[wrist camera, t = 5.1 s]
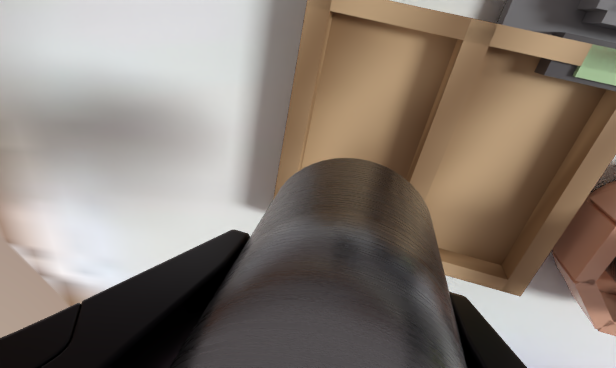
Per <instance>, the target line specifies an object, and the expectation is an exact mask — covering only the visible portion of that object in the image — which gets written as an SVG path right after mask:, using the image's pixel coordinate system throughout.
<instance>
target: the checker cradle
mask: <svg viewBox="0 0 616 368" xmlns="http://www.w3.org/2000/svg"><path fill="white" fill-rule="evenodd" d="M497 24H501V25H505V26H510V27H515V28H519V29H524V30H529V31H533V32H538V33H543V34H547V35H552V36H557V37H561V38H566V39H571V40H575V41H580V42H585V43H589V44H593V45H594V46H595V48H596V47H597V45H599V47H600V48H601V50H602V51H603V47H607V48H605V49H604V50H605V52H603V54H601V56H603V55H604V54H605V55H607V54H606V53H607V52H608V51H609V50H610V48H611V50H610V51H609V53H610V52H612V50H615V51H613V52H612V55H613V56H612V55H610V54H611V53H610V54H609V55H607V57H608V56H609V57H610V56H612V57H614V54H613V53H614V52H615V57H614V58H612V57H610V58H612V60H611V59H610V58H609V57H608V58H607V57H606V58H607V59H606V60H605V58H602V59H601V61H602V60H603V59H604V60H603V61H602V63H601V61H600V59H599V56H600V54H599V55H598V53H597V55H598V57H597V56H596V53H595V54H593V52H596V51H595V48H594V46H593V45H592V46H593V48H594V49H593V50H592V47H591V49H590V50H589V52H588V55H587V56H588V57H587V56H586V59H587V60H586V59H584V61H583V63H584V62H585V63H584V64H583V63H582V64H583V65H581V66H578V65H573V64H569V63H564V62H560V61H555V60H550V59H546V58H541V59H540V61H539V63H538V65H537V67H536V69H535V71H534V72H536V73H539V74H542V75H545V76H549V77H554V78H558V79H563V80H567V81H572V82H576V83H580V84H585V85H589V86H594V87H598V88H603V89H607V90H612V91H616V70H615V69H616V67H615V66H616V63H615V62H616V59H615V58H616V0H507V1H506V3H505V6H504V8H503V10H502V13H501V15H500V18H499V20H498V22H497ZM601 46H603V47H601ZM597 48H598V47H597ZM597 48H596V49H597ZM612 48H613V49H612ZM608 49H609V50H608ZM598 50H599V48H598ZM598 50H597V51H598ZM601 50H600V52H601ZM606 50H607V51H606ZM505 51H506V50H505ZM590 51H591V52H592V51H593V52H592V54H591V53H590ZM601 53H602V52H601ZM590 54H591V55H593V56H591V55H590ZM594 56H595V57H594ZM601 56H600V58H601ZM589 57H591V58H590V60H589ZM592 57H593V58H594V59H595V61H596V62H595V61H594V59H592ZM596 57H597V58H598V59H596ZM603 57H605V56H603ZM497 58H498V57H497ZM528 58H529V57H528ZM497 60H498V59H497ZM534 60H535V59H534ZM597 60H598V61H600V63H598V62H597ZM608 60H609V61H608ZM490 61H491V60H490ZM589 61H590V62H589ZM592 61H593V62H592ZM612 61H614V62H612ZM588 62H589V64H590V63H591V62H592V63H591V64H592V65H593V64H594V65H593V67H592V65H591V64H590V65H591V66H587V67H586V65H589V64H588ZM604 62H605V63H604ZM610 62H611V63H610ZM596 63H598V66H597V64H596ZM607 63H608V64H607ZM611 64H612V66H611ZM513 65H514V64H513ZM609 65H610V66H609ZM584 66H585V67H584ZM594 66H597V68H595V67H594ZM588 67H589V68H588ZM591 67H592V68H591ZM601 67H602V68H601ZM599 68H600V69H599ZM607 68H608V69H607ZM610 68H611V69H610ZM596 69H597V70H596ZM601 70H602V71H601ZM608 70H609V71H608ZM611 70H612V71H613V72H612V71H611ZM610 72H611V73H610ZM489 75H490V74H489ZM505 80H506V79H505ZM564 84H565V83H564Z"/></svg>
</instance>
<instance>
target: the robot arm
mask: <svg viewBox="0 0 616 368" xmlns="http://www.w3.org/2000/svg"><path fill="white" fill-rule="evenodd" d="M249 238H250V236H249V234H248V233H245V232H241V231H238V230H230V231H228V232H226V233H224V234H222V235H220V236H218V237H216V238H213V239H211V240H209V241H207V242H205V243H203V244H201V245H199V246H197V247H195V248H193V249H190V250H188V251H186V252H184V253H182V254H180V255H178V256H176V257H174V258H172V259H169V260H167V261H165V262H163V263H161V264H159V265H157V266H155V267H153V268H151V269H148V270H146V271H144V272H142V273H140V274H138V275H136V276H134V277H132V278H130V279H127V280H125V281H123V282H121V283H119V284H117V285H115V286H113V287H111V288H109V289H107V290H104V291H102V292H100V293H98V294H96V295H94V296H92V297H90V298H88V299H86V300H84V301H83V302H82V304H80V303H77V304H75V305H73V306H71V307H68V308H66V309H64V310H62V311H60V312H58V313H56V314H54V315H52V316H49V317H47V318H45V319H43V320H40V321H38V322H36V323H34V324H32V325H29V326H27V327H25V328H23V329H21V330H18V331H16V332H14V333H12V334H9V335H7V336H4V337H2V338H0V368H169V367H170V365H171V364H172V362H173V360H174V359H175V357H176V356H177V354H178V352H179V351H180V349H181V348H182V346H183V344H184V343H185V341H186V340H187V338H188V336H189V335H190V333H191V331H192V330H193V328H194V327H195V325H196V323H197V322H198V320H199V319H200V317H201V315H202V314H203V312H204V311H205V309H206V307H207V306H208V304H209V303H210V301H211V299H212V298H213V296H214V294H215V293H216V291H217V290H218V288H219V286H220V285H221V283H222V282H223V280H224V278H225V277H226V275H227V274H228V272H229V270H230V269H231V267H232V266H233V264H234V262H235V261H236V259H237V258H238V256H239V254H240V253H241V251H242V249H243V248H244V246H245V245H246V243H247V241H248V240H249ZM449 294H450V298H451V302H452V307H453V311H454V315H455V319H456V323H457V328H458V332H459V336H460V340H461V344H462V349H463V353H464V357H465V361H466V365H467V368H527V367H526V366H525V365H524V364H523V362H522V361H521V360H520V359H519V358H518V357H517V355H516V354H515V353H514V352H513V351H512V350H511V349H510V347H509V346H508V345H507V344H506V343H505V342H504V340H503V339H502V338H501V337H500V336H499V335H498V334H497V332H496V331H495V330H494V329H493V328H492V327H491V325H490V324H489V323H488V322H487V321H486V320H485V319H484V317H483V316H482V315H481V314H480V313H479V312H478V310H477V309H476V308H475V307H474V306H473V305H472V304H471V302H470V301H469V300H468V299H467V298H466V297H464V296H462V295H459V294H455V293H452V292H449Z"/></svg>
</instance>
